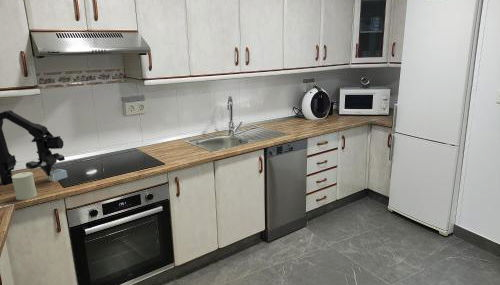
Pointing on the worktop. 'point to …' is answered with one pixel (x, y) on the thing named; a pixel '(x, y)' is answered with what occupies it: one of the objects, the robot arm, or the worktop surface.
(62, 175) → the light blue box
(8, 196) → the worktop surface
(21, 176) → the can
